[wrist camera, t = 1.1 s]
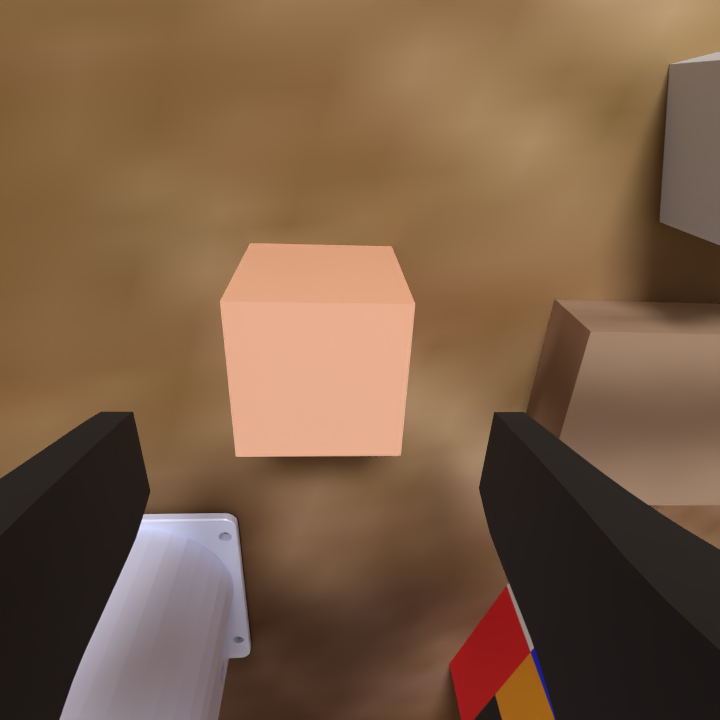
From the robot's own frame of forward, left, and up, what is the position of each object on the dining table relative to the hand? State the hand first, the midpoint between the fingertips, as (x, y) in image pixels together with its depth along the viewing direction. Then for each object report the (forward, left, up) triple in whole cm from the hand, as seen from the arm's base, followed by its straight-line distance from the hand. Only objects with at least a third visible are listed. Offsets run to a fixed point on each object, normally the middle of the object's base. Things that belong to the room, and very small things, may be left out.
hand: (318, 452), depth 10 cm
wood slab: (-3, -11, -8) cm, 14 cm away
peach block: (0, 0, -8) cm, 8 cm away
